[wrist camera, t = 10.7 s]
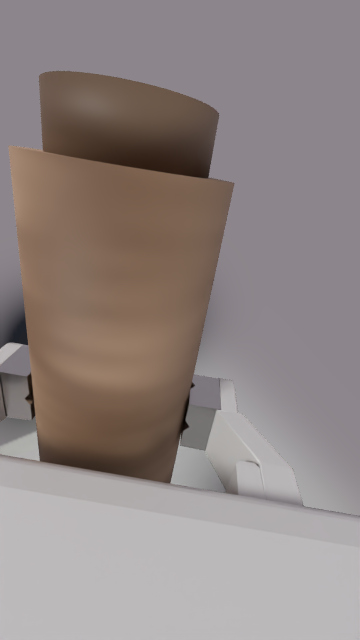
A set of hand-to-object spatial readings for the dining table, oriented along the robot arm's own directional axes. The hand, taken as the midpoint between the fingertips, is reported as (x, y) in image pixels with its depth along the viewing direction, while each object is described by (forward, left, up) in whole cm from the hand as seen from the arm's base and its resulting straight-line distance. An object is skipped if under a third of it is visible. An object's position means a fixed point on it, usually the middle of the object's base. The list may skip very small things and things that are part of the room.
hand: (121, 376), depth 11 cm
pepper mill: (0, +1, -11) cm, 11 cm away
